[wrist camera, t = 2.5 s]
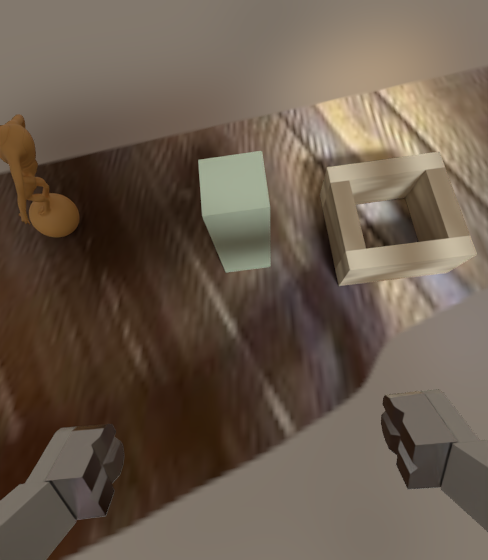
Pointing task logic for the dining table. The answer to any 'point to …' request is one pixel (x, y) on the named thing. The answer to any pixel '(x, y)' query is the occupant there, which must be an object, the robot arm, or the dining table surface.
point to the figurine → (34, 183)
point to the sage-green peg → (237, 209)
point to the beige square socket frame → (423, 210)
